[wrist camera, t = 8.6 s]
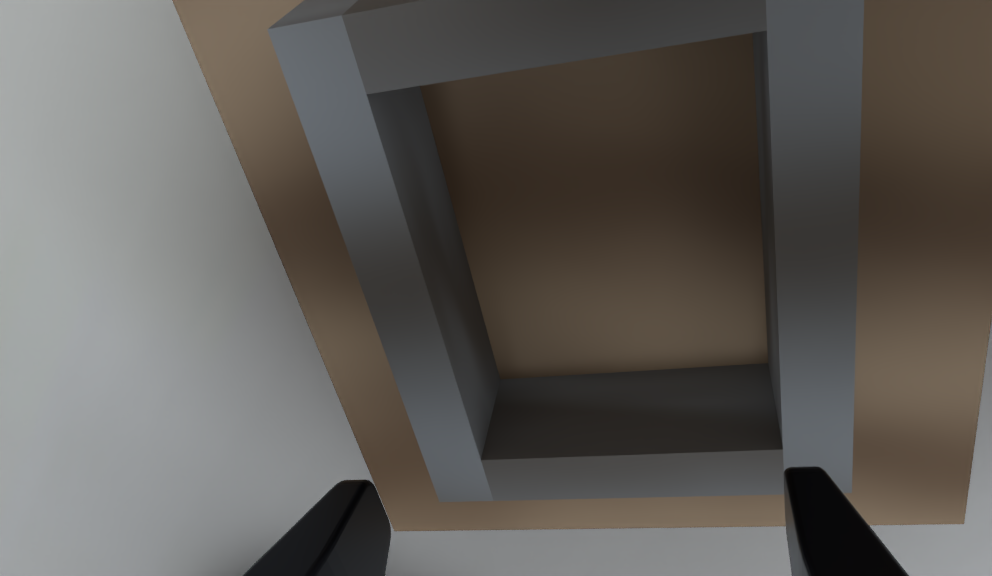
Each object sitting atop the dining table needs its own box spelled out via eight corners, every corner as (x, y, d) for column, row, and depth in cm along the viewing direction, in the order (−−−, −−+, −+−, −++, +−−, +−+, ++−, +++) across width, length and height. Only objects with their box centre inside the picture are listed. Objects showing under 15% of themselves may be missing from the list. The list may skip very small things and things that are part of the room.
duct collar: (951, 490, 20) (1000, 621, 17) (403, 502, 23) (368, 612, 20) (1070, -524, 10) (1232, -621, 7) (108, -239, 14) (-38, -228, 11)
